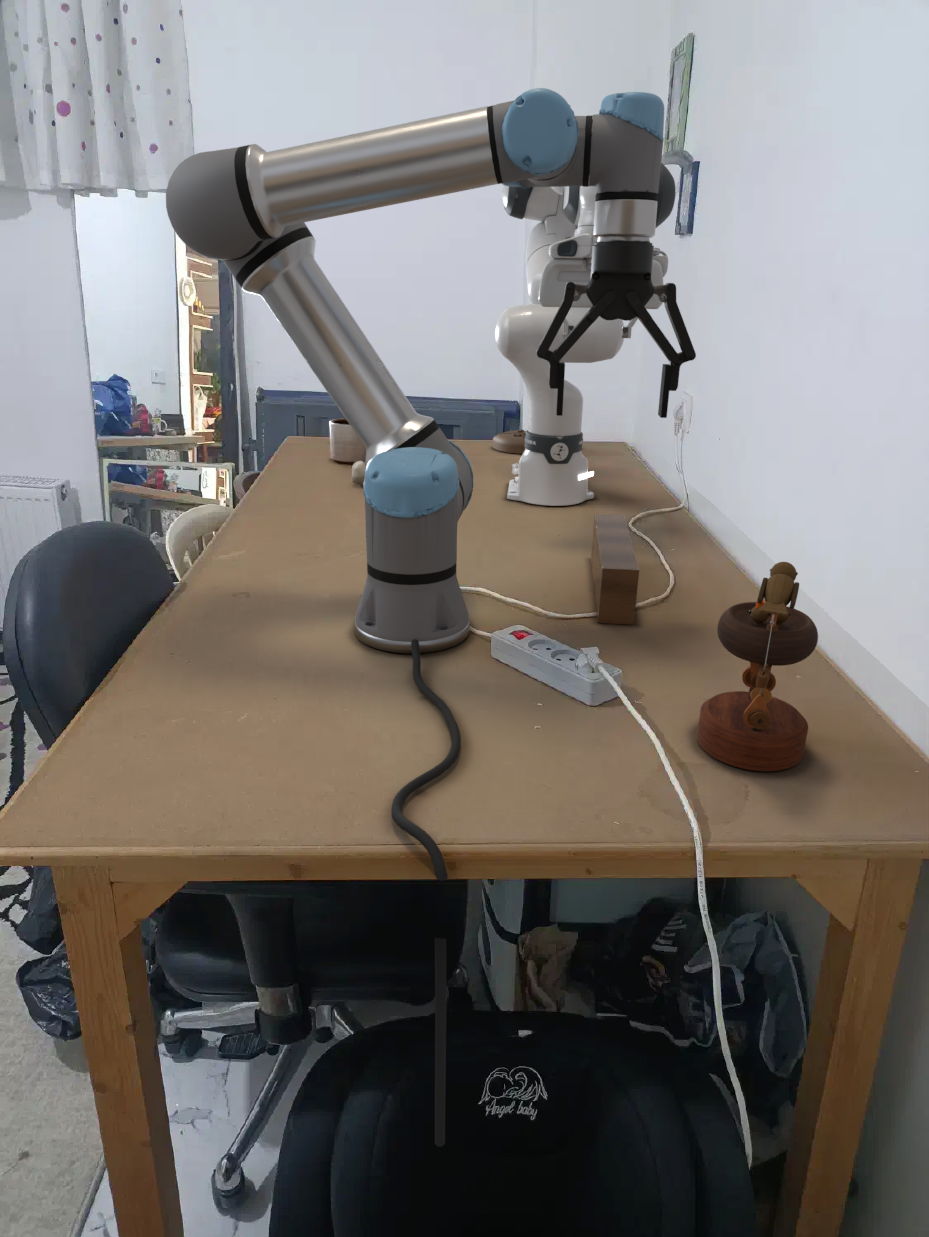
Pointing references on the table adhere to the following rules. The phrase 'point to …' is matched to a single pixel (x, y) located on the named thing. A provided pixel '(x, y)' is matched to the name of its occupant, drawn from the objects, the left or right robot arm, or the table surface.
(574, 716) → the table surface
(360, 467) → the dog toy
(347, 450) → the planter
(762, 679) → the wooden figurine sculpture
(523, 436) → the brown rounded slab
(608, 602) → the bar
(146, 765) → the table surface
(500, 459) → the table surface
